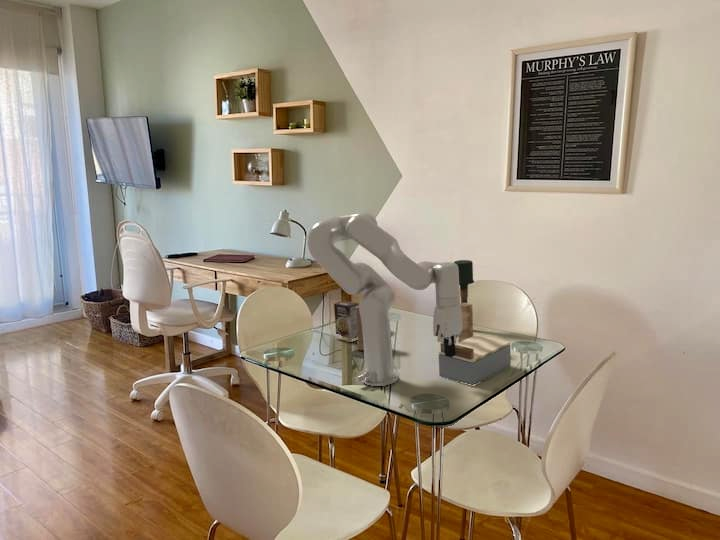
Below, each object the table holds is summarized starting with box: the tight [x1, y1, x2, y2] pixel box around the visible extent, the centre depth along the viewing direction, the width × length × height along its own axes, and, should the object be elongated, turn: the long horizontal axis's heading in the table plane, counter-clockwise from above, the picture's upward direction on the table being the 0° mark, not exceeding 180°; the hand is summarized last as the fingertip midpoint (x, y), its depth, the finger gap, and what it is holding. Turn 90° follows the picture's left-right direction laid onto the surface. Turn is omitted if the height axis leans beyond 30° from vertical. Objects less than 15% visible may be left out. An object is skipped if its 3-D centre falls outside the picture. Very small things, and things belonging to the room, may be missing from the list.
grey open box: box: [438, 344, 512, 385], centre depth 187 cm, size 22×14×8 cm, turn 133°
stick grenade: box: [453, 259, 475, 304], centre depth 231 cm, size 8×9×30 cm
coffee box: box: [333, 300, 360, 340], centre depth 230 cm, size 9×6×16 cm
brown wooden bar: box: [457, 302, 474, 343], centre depth 208 cm, size 4×4×18 cm
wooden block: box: [356, 306, 364, 351], centre depth 215 cm, size 4×11×18 cm, turn 85°
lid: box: [438, 334, 511, 363], centre depth 186 cm, size 22×14×4 cm, turn 133°
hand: (450, 355), depth 176 cm, fingers closed
